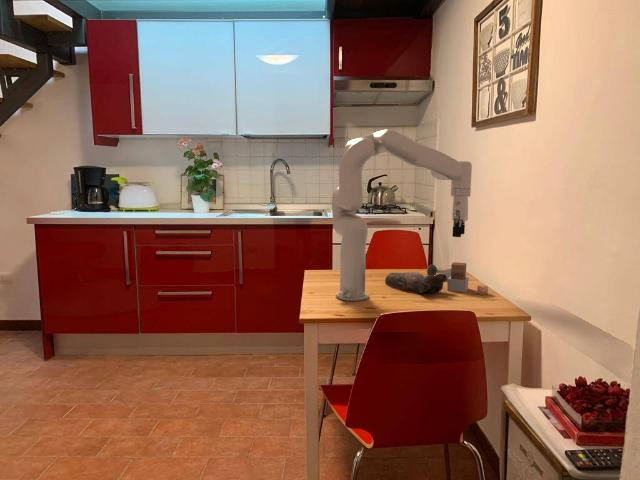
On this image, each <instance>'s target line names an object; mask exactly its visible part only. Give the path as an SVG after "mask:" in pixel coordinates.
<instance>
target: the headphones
mask: <svg viewBox="0 0 640 480" xmlns="http://www.w3.org/2000/svg"><path fill="white" fill-rule="evenodd" d="M417 269H420V270H422V271H423V269H421V268H419V267H418V268H417ZM426 274H427V276H428V275H433V276H434V275H437V274H445V275H446V277H447V281H448V278H449V277H450V276H451V268H449V269H448V268H447V270H445V269H438V267H437V266H436V265H435V264H430V265H429V266H428V267H427V269H426ZM447 281H446V282H447Z"/></svg>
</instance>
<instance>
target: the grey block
mask: <svg viewBox="0 0 640 480" xmlns="http://www.w3.org/2000/svg"><path fill="white" fill-rule="evenodd" d="M446 287H447V288H446V289H447V291H449V292H458V293H467V290H468V289H469V277H468V276H466V278H465V279H464V280H458V279H451V276H450V277H449V278H448V282H447V286H446Z"/></svg>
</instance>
